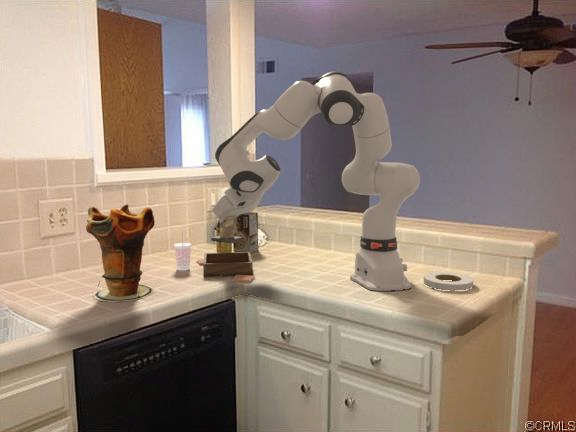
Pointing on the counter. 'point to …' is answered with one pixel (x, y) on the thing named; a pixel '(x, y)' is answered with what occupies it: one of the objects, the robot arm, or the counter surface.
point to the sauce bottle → (222, 243)
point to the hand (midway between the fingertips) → (225, 220)
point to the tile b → (243, 278)
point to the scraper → (227, 232)
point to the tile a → (200, 261)
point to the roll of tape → (457, 281)
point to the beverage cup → (182, 255)
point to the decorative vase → (121, 251)
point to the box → (227, 264)
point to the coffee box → (246, 232)
